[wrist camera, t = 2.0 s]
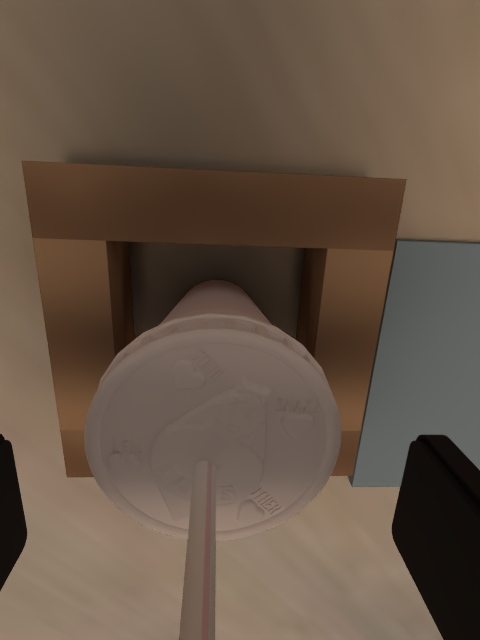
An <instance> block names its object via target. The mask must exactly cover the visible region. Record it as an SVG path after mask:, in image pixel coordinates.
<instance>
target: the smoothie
mask: <svg viewBox="0 0 480 640" xmlns="http://www.w3.org/2000/svg"><path fill="white" fill-rule="evenodd" d="M84 442H85V452H86V456H87V460H88V464H89V466H90V469H91V472H92V474H93V476H94V478H95V480H96V482H97V483H98V485H99V487H100V488H101V490H102V491H103V492H104V494H105V495H106V496H107V497H108V499H109V500H110V501H111V502H112V503H113V504H114V505H115V506H116V507H117V508H119V509H120V510H121V511H122V512H123V513H124V514H126V515H127V516H129V517H130V518H132V519H133V520H135V521H137V522H138V523H140V524H141V525H143V526H145V527H148V528H150V529H152V530H155V531H157V532H159V533H162V534H165V535H169V536H173V537H177V538H181V539H186V540H187V552H186V564H185V575H184V587H183V599H182V610H181V622H180V634H179V640H215V575H216V541H228V540H234V539H239V538H244V537H249V536H252V535H255V534H258V533H261V532H264V531H267V530H270V529H272V528H274V527H276V526H277V525H279V524H281V523H283V522H285V521H287V520H289V519H290V518H292V517H293V516H294V515H296V514H297V513H299V512H300V511H301V510H302V509H303V508H305V507H306V506H307V505H308V504H309V503H310V502H311V501H312V500H313V499H314V498H315V497H316V496H317V494H318V493H319V492H320V491H321V490H322V488H323V487H324V485H325V484H326V482H327V481H328V479H329V477H330V475H331V473H332V471H333V469H334V466H335V464H336V461H337V458H338V454H339V449H340V444H341V422H340V416H339V411H338V408H337V405H336V402H335V399H334V397H333V394H332V391H331V389H330V387H329V384H328V382H327V379H326V377H325V374H324V372H323V370H322V367H321V366H320V365H319V364H318V363H317V361H316V360H315V359H314V358H313V357H312V355H311V354H310V353H309V352H308V351H307V349H306V348H305V347H304V346H303V345H302V344H301V343H299V342H298V341H296V340H295V339H294V338H292V337H291V336H289V335H288V334H286V333H285V332H283V331H282V330H280V329H279V328H277V327H276V326H273V325H272V324H271V323H270V322H269V321H268V320H267V318H266V317H265V316H264V315H263V313H262V312H261V311H260V310H259V308H258V307H257V306H256V305H255V303H254V302H253V301H252V300H251V299H250V297H249V296H248V295H247V294H246V293H245V291H244V290H242V289H241V288H240V287H239V286H237V285H235V284H233V283H231V282H228V281H224V280H208V281H204V282H202V283H199V284H197V285H196V286H194V287H193V288H191V289H190V290H189V291H188V292H187V293H186V295H185V296H184V297H183V298H182V299H181V300H180V301H179V303H178V304H177V305H176V306H175V307H174V308H173V310H172V311H171V312H170V313H169V314H168V315H167V317H166V318H165V319H164V320H163V321H162V322H161V324H160V325H159V326H157V327H155V328H152V329H150V330H148V331H146V332H143V333H142V334H141V335H140V336H138V337H137V338H136V339H135V340H134V341H132V342H131V343H130V344H129V345H127V346H126V347H125V348H124V349H123V350H121V351H120V352H119V353H118V354H117V355H116V357H115V358H114V360H113V361H112V363H111V364H110V366H109V367H108V369H107V370H106V372H105V373H104V375H103V376H102V377H101V379H100V383H99V386H98V390H97V392H96V394H95V395H94V397H93V399H92V402H91V404H90V407H89V410H88V414H87V417H86V423H85V431H84Z"/></svg>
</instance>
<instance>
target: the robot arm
mask: <svg viewBox="0 0 480 640" xmlns="http://www.w3.org/2000/svg"><path fill="white" fill-rule="evenodd" d="M392 535H393V539H394V542H395V544H396V546H397V548H398V550H399V552H400V554H401V556H402V558H403V560H404V562H405V564H406V566H407V568H408V570H409V572H410V574H411V576H412V578H413V580H414V582H415V584H416V586H417V588H418V590H419V592H420V594H421V596H422V598H423V600H424V602H425V604H426V606H427V608H428V610H429V612H430V614H431V616H432V618H433V620H434V622H435V624H436V626H437V628H438V630H439V632H440V633H441V635H442V637H443V639H444V640H480V470H479V469H478V468H477V467H476V466H475V465H474V464H473V463H472V462H471V460H470V459H469V458H468V457H467V456H466V455H465V454H464V453H463V452H462V451H461V450H460V449H459V448H458V447H457V446H456V445H455V444H454V442H453V441H452V440H451V439H450V438H449V437H447V436H446V435H419V436H418V437H417V439H416V441H412V442H411V443H410V446H409V450H408V455H407V459H406V464H405V469H404V473H403V478H402V482H401V487H400V491H399V496H398V500H397V505H396V509H395V514H394V519H393V523H392ZM26 539H27V528H26V522H25V516H24V511H23V505H22V500H21V494H20V488H19V483H18V477H17V472H16V466H15V460H14V455H13V449H12V445H11V442H10V441H8V440H5V439H4V437H3V435H2V434H0V591H1V589H2V587H3V585H4V583H5V581H6V580H7V578H8V576H9V574H10V572H11V571H12V569H13V567H14V565H15V563H16V561H17V560H18V558H19V556H20V554H21V552H22V550H23V548H24V546H25V543H26Z"/></svg>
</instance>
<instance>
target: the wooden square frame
mask: <svg viewBox="0 0 480 640" xmlns="http://www.w3.org/2000/svg"><path fill="white" fill-rule="evenodd" d="M22 166H23V173H24V180H25V187H26V194H27V201H28V208H29V215H30V222H31V229H32V236H33V243H34V250H35V257H36V264H37V271H38V278H39V285H40V292H41V299H42V306H43V313H44V320H45V327H46V334H47V341H48V348H49V355H50V362H51V369H52V376H53V383H54V390H55V397H56V404H57V411H58V418H59V425H60V432H61V439H62V446H63V453H64V460H65V467H66V474H67V477H94V476H93V474H92V472H91V469H90V466H89V464H88V460H87V456H86V452H85V442H84V431H85V423H86V417H87V414H88V410H89V407H90V404H91V402H92V399H93V397H94V395H95V394H96V392H97V390H98V386H99V383H100V379H101V377H102V376H103V375H104V373H105V372H106V370H107V369H108V367H109V366H110V364H111V363H112V361H113V360H114V358H115V357H116V355H117V354H118V353H119V352H120V351H121V350H123V349H124V348H125V347H126V346H127V345H129V344H130V343H131V342H132V341H134V325H133V308H132V290H131V273H130V255H129V242H155V243H183V244H211V245H240V246H268V247H296V248H305V256H304V266H303V276H302V286H301V296H300V305H299V315H298V325H297V335H296V341H298V342H299V343H301V344H302V345H303V346H304V347H305V348H306V349H307V351H308V352H309V353H310V354H311V355H312V357H313V358H314V359H315V360H316V361H317V363H318V364H319V365H320V366H321V367H322V370H323V372H324V374H325V377H326V379H327V382H328V384H329V387H330V389H331V391H332V394H333V397H334V399H335V402H336V405H337V408H338V411H339V416H340V422H341V444H340V449H339V454H338V458H337V461H336V464H335V466H334V469H333V471H332V473H331V475H330V476H352V475H353V470H354V464H355V459H356V453H357V448H358V443H359V437H360V432H361V426H362V421H363V415H364V410H365V404H366V399H367V393H368V388H369V382H370V377H371V371H372V366H373V360H374V355H375V350H376V344H377V339H378V333H379V328H380V322H381V317H382V311H383V306H384V300H385V295H386V289H387V284H388V278H389V273H390V267H391V262H392V257H393V251H394V246H395V240H396V235H397V229H398V224H399V218H400V213H401V207H402V202H403V196H404V191H405V185H406V180H407V179H389V178H368V177H347V176H327V175H306V174H286V173H265V172H244V171H224V170H203V169H182V168H162V167H141V166H121V165H100V164H79V163H59V162H38V161H22Z"/></svg>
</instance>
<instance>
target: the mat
mask: <svg viewBox="0 0 480 640" xmlns="http://www.w3.org/2000/svg"><path fill="white" fill-rule="evenodd" d="M419 435H446V436H447V437H449V438H450V439H451V440H452V441H453V442H454V444H455V445H456V446H457V447H458V448H459V449H460V450H461V451H462V452H463V453H464V454H465V455H466V456H467V457H468V458H469V459H470V460H471V462H472V463H473V464H474V465H475V466H476V467H477V468H478V469H479V470H480V242H455V241H428V240H401V239H396V240H395V246H394V251H393V257H392V262H391V267H390V273H389V278H388V284H387V289H386V295H385V300H384V306H383V311H382V317H381V322H380V328H379V333H378V339H377V344H376V350H375V355H374V360H373V366H372V371H371V377H370V382H369V388H368V393H367V399H366V404H365V410H364V415H363V421H362V426H361V432H360V437H359V443H358V448H357V453H356V459H355V464H354V470H353V475H352V476H349V481H350V483H351V486H352V487H401V482H402V478H403V473H404V469H405V464H406V459H407V455H408V450H409V446H410V443H411V442H412V441H416V439H417V437H418V436H419Z"/></svg>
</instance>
